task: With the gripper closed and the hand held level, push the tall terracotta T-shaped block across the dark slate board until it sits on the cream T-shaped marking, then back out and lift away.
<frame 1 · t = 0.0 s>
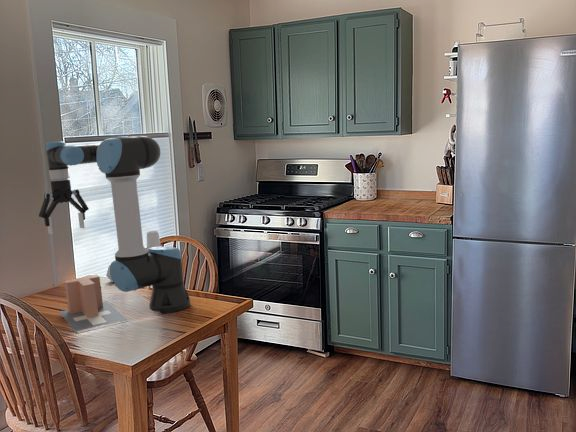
hand: (66, 230, 239), 28 cm above the table, tool pointing down, fingers open, 13 cm apart
t block: (88, 312, 216), point 1 cm above the table, touching slate board
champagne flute: (158, 286, 250), on the table
die: (117, 281, 264), on the table
slate board: (92, 317, 212), on the table
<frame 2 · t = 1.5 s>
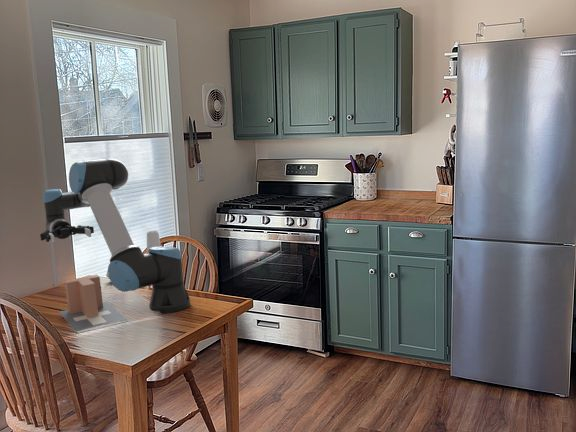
hand: (71, 236, 223), 28 cm above the table, tool horizontal, fingers open, 13 cm apart
nothing on the table moved.
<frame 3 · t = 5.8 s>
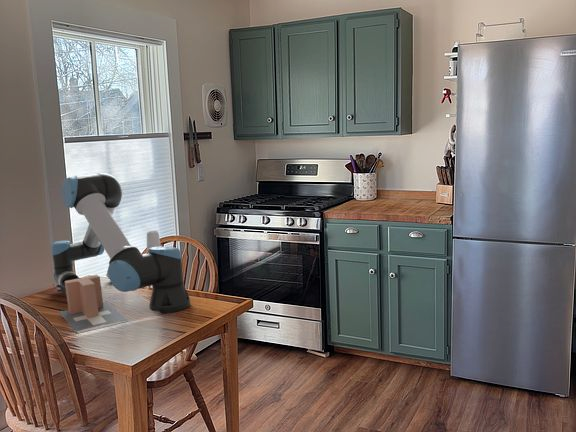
hand: (82, 293, 221), 7 cm above the table, tool horizontal, fingers closed
t block: (88, 312, 216), point 1 cm above the table, touching gripper
everything else where it was.
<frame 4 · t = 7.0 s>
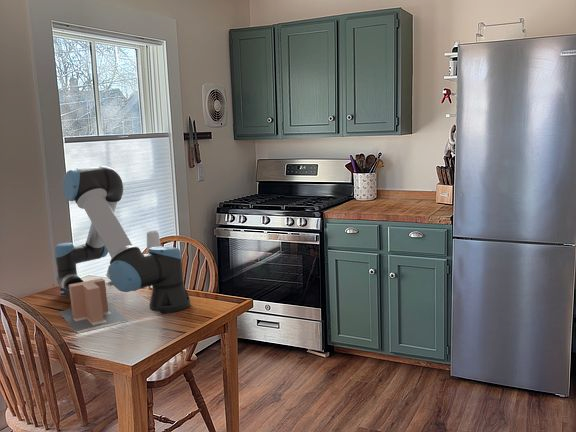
hand: (86, 297, 215), 7 cm above the table, tool horizontal, fingers closed
t block: (93, 316, 210), point 1 cm above the table, touching gripper, slate board
everything else where it was.
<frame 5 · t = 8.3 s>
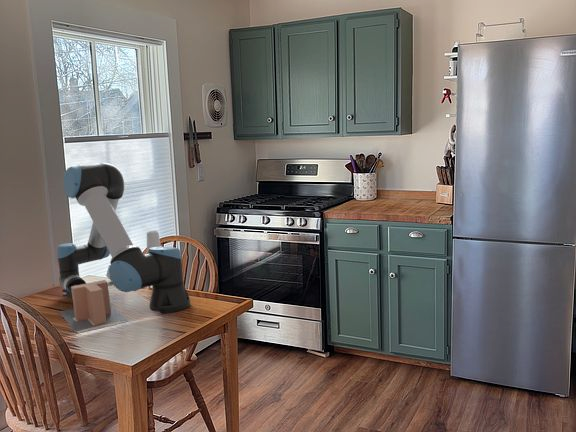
hand: (89, 298, 212), 7 cm above the table, tool horizontal, fingers closed
t block: (96, 319, 207), point 1 cm above the table, touching gripper, slate board
everything else where it was.
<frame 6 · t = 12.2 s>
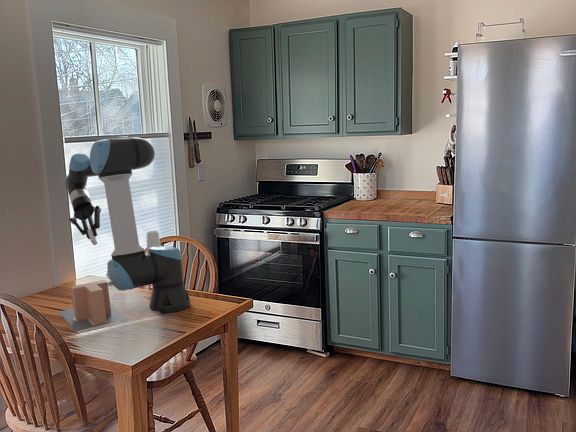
hand: (94, 242, 223), 25 cm above the table, tool tilted 55°, fingers closed
t block: (96, 319, 207), point 1 cm above the table, touching slate board
everything else where it was.
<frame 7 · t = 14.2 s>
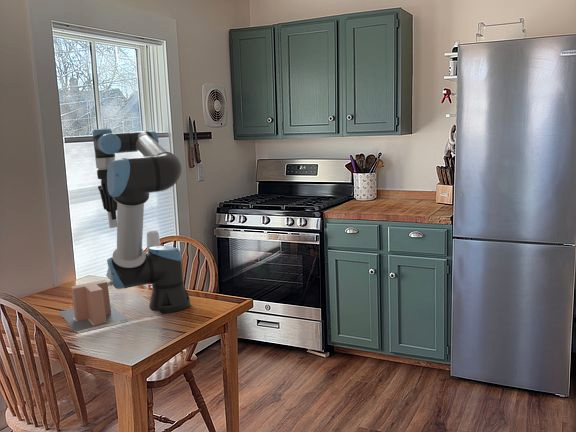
hand: (113, 227, 231), 29 cm above the table, tool pointing down, fingers closed
nothing on the table moved.
at the end: t block 0.6 cm from the target spot on the slate board, point 1.0 cm above the slate board's base; t block tilted 0° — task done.
